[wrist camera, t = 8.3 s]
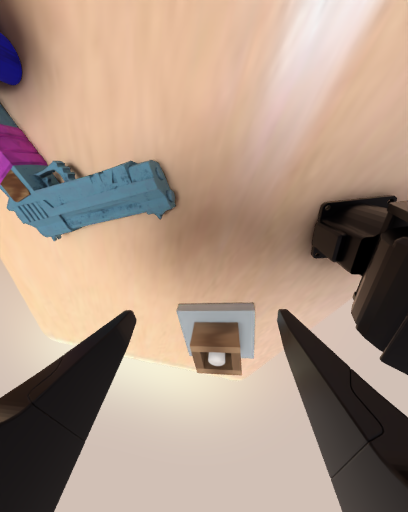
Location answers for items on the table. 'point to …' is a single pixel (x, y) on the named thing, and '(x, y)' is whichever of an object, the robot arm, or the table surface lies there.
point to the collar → (216, 347)
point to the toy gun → (74, 188)
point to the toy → (9, 62)
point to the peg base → (220, 313)
